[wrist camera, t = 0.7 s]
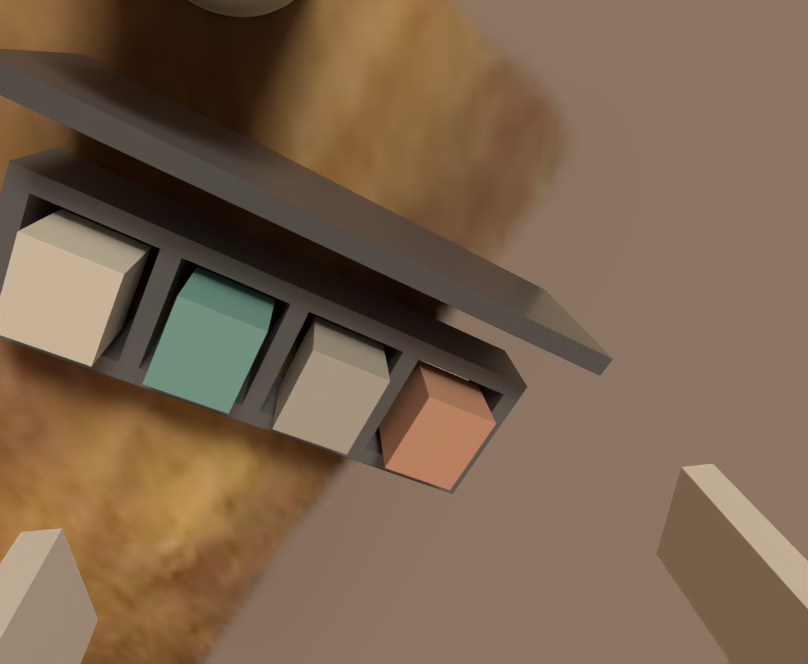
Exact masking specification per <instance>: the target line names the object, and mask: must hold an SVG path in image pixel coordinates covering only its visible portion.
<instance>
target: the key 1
mask: <svg viewBox="0 0 808 664" xmlns="http://www.w3.org/2000/svg"><path fill="white" fill-rule="evenodd" d="M150 250H151V247H150V246H148V245H146V244H143V243H141V242H138V241H136V240H134V239H131V238H129V237H127V236H124V235H122V234H120V233H117V232H115V231H112V230H110V229H108V228H105V227H103V226H101V225H98V224H96V223H94V222H91V221H89V220H86V219H84V218H82V217H79V216H77V215H75V214H72V213H70V212H68V211H65V210H63V209H60V210H58V211H56V212H54V213H52V214H50V215H49V216H47V217H45V218H43V219H41V220H39V221H37V222H35V223H33V224H31V225H29V226H27V227H25V228H23V229H21V230H19V231H18V232H17V235H16V239H15V243H14V247H13V250H12V254H11V258H10V262H9V265H8V269H7V273H6V277H5V280H4V284H3V288H2V291H1V295H0V335H1V336H4V337H7V338H10V339H13V340H16V341H19V342H21V343H24V344H27V345H30V346H33V347H36V348H39V349H42V350H45V351H47V352H50V353H53V354H56V355H59V356H62V357H65V358H68V359H71V360H74V361H76V362H79V363H82V364H85V365H88V366H91V367H92V365H93V364H94V363H95V362H96V360H97V359H98V358H99V357H100V355H101V354H102V353H103V352H104V350H105V349H106V348H107V347H108V346H109V344H110V343H111V342H112V341H113V339H114V338H115V337H116V336H117V334H118V333H119V332H120V331H121V329H122V327H123V324H124V321H125V318H126V316H127V313H128V310H129V307H130V305H131V302H132V299H133V296H134V294H135V291H136V288H137V286H138V283H139V280H140V277H141V275H142V272H143V269H144V266H145V264H146V261H147V258H148V255H149V253H150Z"/></svg>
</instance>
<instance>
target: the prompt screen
mask: <svg viewBox="0 0 808 664" xmlns="http://www.w3.org/2000/svg"><path fill="white" fill-rule="evenodd" d="M0 95H2V96H4V97H6V98H8V99H10V100H12V101H14V102H16V103H19V104H21V105H23V106H25V107H27V108H29V109H31V110H34V111H36V112H38V113H40V114H42V115H44V116H46V117H49V118H51V119H53V120H55V121H57V122H59V123H61V124H63V125H66V126H68V127H70V128H72V129H74V130H76V131H78V132H81V133H83V134H85V135H87V136H89V137H91V138H93V139H96V140H98V141H100V142H102V143H104V144H106V145H108V146H110V147H113V148H115V149H117V150H119V151H121V152H123V153H125V154H128V155H130V156H132V157H134V158H136V159H138V160H140V161H143V162H145V163H147V164H149V165H151V166H153V167H155V168H157V169H160V170H162V171H164V172H166V173H168V174H170V175H172V176H175V177H177V178H179V179H181V180H183V181H185V182H187V183H190V184H192V185H194V186H196V187H198V188H200V189H202V190H204V191H207V192H209V193H211V194H213V195H215V196H217V197H219V198H222V199H224V200H226V201H228V202H230V203H232V204H234V205H237V206H239V207H241V208H243V209H245V210H247V211H249V212H251V213H254V214H256V215H258V216H260V217H262V218H264V219H266V220H269V221H271V222H273V223H275V224H277V225H279V226H281V227H284V228H286V229H288V230H290V231H292V232H294V233H296V234H298V235H301V236H303V237H305V238H307V239H309V240H311V241H313V242H316V243H318V244H320V245H322V246H324V247H326V248H328V249H331V250H333V251H335V252H337V253H339V254H341V255H343V256H345V257H348V258H350V259H352V260H354V261H356V262H358V263H360V264H363V265H365V266H367V267H369V268H371V269H373V270H375V271H378V272H380V273H382V274H384V275H386V276H388V277H390V278H392V279H395V280H397V281H399V282H401V283H403V284H405V285H407V286H410V287H412V288H414V289H416V290H418V291H420V292H422V293H425V294H427V295H429V296H431V297H433V298H435V299H437V300H439V301H442V302H444V303H446V304H448V305H450V306H452V307H454V308H457V309H459V310H461V311H463V312H465V313H467V314H469V315H472V316H474V317H476V318H478V319H480V320H482V321H485V322H486V323H489V324H491V325H493V326H495V327H497V328H499V329H501V330H504V331H506V332H508V333H510V334H512V335H514V336H516V337H519V338H521V339H523V340H525V341H527V342H529V343H531V344H534V345H536V346H538V347H540V348H542V349H544V350H546V351H548V352H551V353H553V354H555V355H557V356H559V357H561V358H564V359H566V360H568V361H570V362H572V363H574V364H576V365H578V366H580V367H583V368H585V369H587V370H589V371H591V372H594V373H595V374H598V375H601V374H602V372H603V371H604V370H605V369H606V367H607V366H608V365H609V363H610V362H611V361H612V358H611V357H610V356H609V355H608V354H607V353H606V352H605V351H604V350H603V349H602V348H601V347H600V346H599V345H598V344H597V343H596V342H595V340H594V339H592V338H591V336H590V335H589V334H588V333H587V332H586V331H585V330H584V329H583V328H582V327H581V326H580V325H579V324H578V323H577V322H576V321H575V320H574V319H573V318H572V317H571V316H570V315H569V314H568V313H567V312H566V311H565V310H564V309H563V308H562V307H561V306H560V305H559V304H558V303H557V302H556V301H555V300H554V299H553V298H552V297H551V296H550V295H549V294H548V293H547V291H545V290H544V289H542V288H540V287H538V286H536V285H534V284H532V283H530V282H528V281H526V280H524V279H522V278H521V277H519V276H517V275H515V274H513V273H510V272H509V271H507V270H505V269H503V268H501V267H499V266H497V265H495V264H493V263H491V262H489V261H487V260H485V259H483V258H481V257H479V256H477V255H475V254H474V253H472V252H470V251H468V250H466V249H464V248H462V247H460V246H458V245H456V244H454V243H452V242H450V241H448V240H446V239H444V238H442V237H440V236H438V235H436V234H434V233H432V232H430V231H428V230H427V229H425V228H423V227H421V226H419V225H417V224H415V223H413V222H411V221H409V220H407V219H405V218H403V217H401V216H399V215H397V214H395V213H393V212H391V211H389V210H387V209H385V208H383V207H381V206H380V205H378V204H376V203H374V202H372V201H370V200H368V199H366V198H364V197H362V196H360V195H358V194H356V193H354V192H352V191H350V190H348V189H346V188H344V187H342V186H340V185H338V184H336V183H334V182H333V181H331V180H329V179H327V178H325V177H323V176H321V175H319V174H317V173H315V172H313V171H311V170H309V169H307V168H305V167H303V166H301V165H299V164H297V163H295V162H293V161H291V160H289V159H287V158H286V157H284V156H282V155H280V154H278V153H276V152H274V151H272V150H270V149H268V148H266V147H264V146H262V145H260V144H258V143H256V142H254V141H252V140H250V139H248V138H246V137H244V136H242V135H240V134H239V133H237V132H235V131H233V130H231V129H229V128H227V127H225V126H223V125H221V124H219V123H217V122H215V121H213V120H211V119H209V118H207V117H205V116H203V115H201V114H199V113H197V112H195V111H193V110H192V109H190V108H188V107H186V106H184V105H182V104H180V103H178V102H176V101H174V100H172V99H170V98H168V97H166V96H164V95H162V94H160V93H158V92H156V91H154V90H152V89H150V88H148V87H146V86H145V85H143V84H141V83H139V82H137V81H135V80H133V79H131V78H129V77H127V76H125V75H123V74H121V73H119V72H117V71H115V70H113V69H111V68H109V67H107V66H105V65H103V64H101V63H99V62H98V61H96V60H94V59H92V58H90V57H88V56H86V55H84V54H72V53H57V52H42V51H26V50H11V49H0Z"/></svg>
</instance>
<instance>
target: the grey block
mask: <svg viewBox="0 0 808 664" xmlns="http://www.w3.org/2000/svg"><path fill="white" fill-rule="evenodd" d="M389 382H390V377H389V372H388V367H387V362H386V357H385V352H384V346H383V345H382V344H380V343H377V342H375V341H373V340H370V339H368V338H365V337H363V336H361V335H358V334H356V333H354V332H351V331H349V330H347V329H344V328H342V327H339V326H337V325H335V324H332V323H330V322H328V321H325V320H323V319H321V318H318V317H316V316H315V318H314V320H313V322H312V324H311V326H310V327H309V329H308V331H307V333H306V335H305V337H304V339H303V341H302V343H301V345H300V347H299V349H298V351H297V353H296V355H295V357H294V359H293V361H292V363H291V365H290V367H289V369H288V371H287V373H286V375H285V377H284V379H283V381H282V383H281V385H280V387H279V391H278V397H277V403H276V409H275V415H274V422H273V428H272V429H274V430H276V431H279V432H282V433H285V434H288V435H291V436H294V437H297V438H300V439H303V440H305V441H308V442H311V443H314V444H317V445H320V446H323V447H326V448H329V449H332V450H334V451H337V452H340V453H343V454H346V455H347V454H348V452H349V450H350V448H351V447H352V445H353V443H354V442H355V440H356V438H357V437H358V435H359V433H360V431H361V430H362V428H363V426H364V425H365V423H366V421H367V420H368V418H369V416H370V415H371V413H372V411H373V409H374V408H375V406H376V404H377V403H378V401H379V399H380V398H381V396H382V394H383V392H384V391H385V389H386V387H387V386H388V384H389Z"/></svg>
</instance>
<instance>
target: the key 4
mask: <svg viewBox="0 0 808 664" xmlns="http://www.w3.org/2000/svg"><path fill="white" fill-rule="evenodd" d="M495 425H496V422H495V420H494V418H493V416H492V414H491V412H490V409H489V407H488V405H487V403H486V401H485V399H484V397H483V395H482V392H481V390H480V388H479V386H478V385H477V384H474V383H472V382H469V381H467V380H465V379H462V378H460V377H458V376H455V375H453V374H451V373H448V372H446V371H443V370H441V369H439V368H436V367H434V366H432V365H429V364H427V363H425V362H422V361H420V360H418V362H417V363H416V365H415V367H414V368H413V370H412V372H411V373H410V375H409V377H408V378H407V380H406V382H405V383H404V385H403V387H402V388H401V390H400V392H399V393H398V395H397V397H396V398H395V400H394V402H393V403H392V405H391V407H390V408H389V410H388V412H387V413H386V415H385V417H384V418H383V420H382V422H381V423H380V425H379V429H380V436H381V444H382V451H383V458H384V465H385V468H387V469H390V470H392V471H395V472H398V473H401V474H404V475H407V476H410V477H413V478H416V479H419V480H421V481H424V482H427V483H430V484H433V485H436V486H439V487H442V488H445V489H448V490H450V489H451V488H452V486H453V485H454V484H455V482H456V481H457V479H458V478H459V476H460V475H461V474H462V472H463V471H464V469H465V468H466V466H467V465H468V463H469V462H470V461H471V459H472V458H473V456H474V455H475V453H476V452H477V451H478V449H479V448H480V446H481V445H482V443H483V442H484V440H485V439H486V438H487V436H488V435H489V433H490V432H491V430H492V429H493V428H494V426H495Z"/></svg>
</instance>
